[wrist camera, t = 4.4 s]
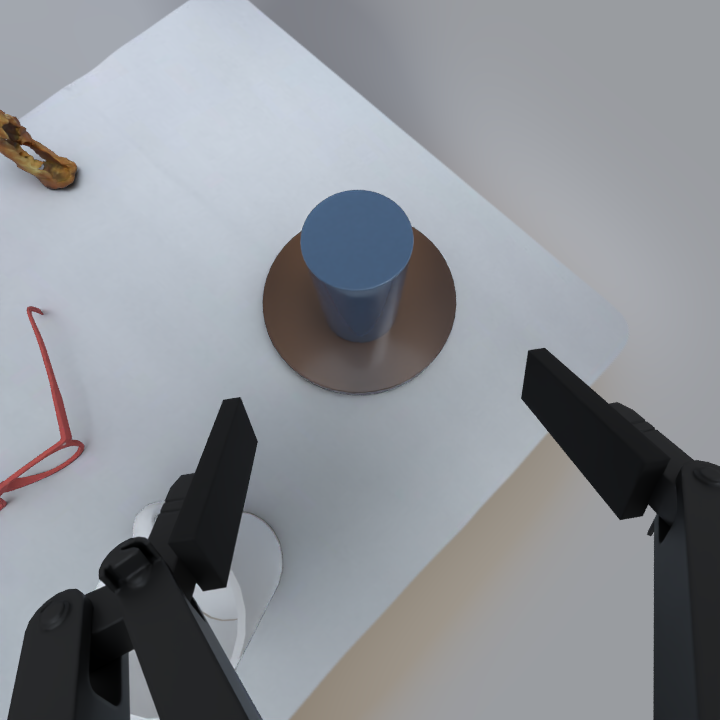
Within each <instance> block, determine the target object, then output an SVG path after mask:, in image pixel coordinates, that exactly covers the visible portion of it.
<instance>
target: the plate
mask: <svg viewBox="0 0 720 720" xmlns="http://www.w3.org/2000/svg"><path fill="white" fill-rule="evenodd" d="M412 230H413V236H414V244H413V250H412V255H411V259H410V264H409V268H408V272H407V277H406V281H405V285H404V290H403V294H402V298H401V303H400V307H399V311H398V315H397V319H396V321H395V323H394V325H393V326H392V328H391V329H390V330H389V331H388V332H387V333H386V334H385V335H383V336H382V337H380V338H378V339H376V340H373V341H370V342H363V343H357V342H351V341H347V340H345V339H343V338H341V337H339V336H337V335H336V334H335V333H334V332H333V331H332V330H331V329H330V328H329V326H328V325H327V323H326V321H325V318H324V316H323V313H322V310H321V307H320V304H319V301H318V298H317V295H316V293H315V290H314V287H313V284H312V281H311V278H310V275H309V273H308V270H307V267H306V264H305V261H304V258H303V255H302V251H301V244H300V239H301V232H302V231H301V232H300V233H298V234H297V235H296V236H295V237H293V238H292V239H291V240H290V241H289V242H288V243H287V244H286V245H285V246H284V248H283V249H282V250H281V252H280V253H279V254H278V256H277V257H276V259H275V261H274V263H273V264H272V266H271V268H270V271H269V273H268V276H267V279H266V283H265V287H264V294H263V314H264V320H265V325H266V328H267V331H268V334H269V337H270V339H271V341H272V343H273V345H274V347H275V348H276V350H277V351H278V353H279V354H280V356H281V357H282V358H283V359H284V360H285V361H286V362H287V364H288V365H289V366H290V367H291V368H292V369H293V370H295V371H296V372H297V373H298V374H299V375H300V376H302V377H303V378H305V379H306V380H308V381H309V382H311V383H313V384H315V385H317V386H319V387H321V388H324V389H327V390H330V391H333V392H337V393H343V394H349V395H367V394H376V393H380V392H385V391H388V390H391V389H394V388H396V387H399V386H401V385H403V384H405V383H407V382H409V381H411V380H412V379H413V378H415V377H416V376H418V375H419V374H420V373H422V372H423V371H424V370H425V369H426V368H427V367H428V366H429V365H430V364H431V363H432V361H433V360H434V359H435V358H436V356H437V355H438V354H439V353H440V351H441V350H442V348H443V346H444V345H445V343H446V341H447V339H448V337H449V334H450V332H451V330H452V326H453V322H454V318H455V311H456V292H455V286H454V281H453V278H452V275H451V272H450V269H449V267H448V265H447V263H446V261H445V259H444V258H443V256H442V254H441V253H440V251H439V250H438V249H437V248H436V246H435V245H434V244H433V243H432V242H431V241H430V240H429V239H428V238H427V237H426V236H425V235H423V234H422V233H421V232H419V231H418V230H417V229H415V228H414V227H412Z"/></svg>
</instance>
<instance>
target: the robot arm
mask: <svg viewBox="0 0 720 720" xmlns="http://www.w3.org/2000/svg"><path fill="white" fill-rule="evenodd" d="M521 399H522V400H523V401H524V402H525V404H526V405H527V406H528V407H529V409H530V410H531V411H532V412H533V413H534V415H535V416H536V417H537V418H538V420H539V421H540V422H541V423H542V425H543V426H544V427H545V428H546V429H547V431H548V432H549V433H550V434H551V436H552V437H553V438H554V439H555V441H556V442H557V443H558V444H559V445H560V447H561V448H562V449H563V450H564V452H565V453H566V454H567V455H568V457H569V458H570V459H571V460H572V461H573V463H574V464H575V465H576V466H577V468H578V469H579V470H580V471H581V473H582V474H583V475H584V476H585V477H586V479H587V480H588V481H589V482H590V484H591V485H592V486H593V487H594V489H595V490H596V491H597V492H598V493H599V495H600V496H601V497H602V498H603V500H604V501H605V502H606V503H607V504H608V506H609V507H610V508H611V509H612V511H613V512H614V513H615V514H616V516H617V517H618V518H619V519H620V520H623V519H629V518H634V517H640V516H643V514H644V512H645V509H646V508H647V506H648V504H649V505H650V506H651V508H652V509H653V510H654V511H655V512H656V513H657V515H656V517H655V519H654V521H653V523H652V524H651V526H650V528H649V531H648V534H647V535H649V536H651V535H652V534H653V532H654V720H720V466H717V465H715V464H712V463H709V462H704V461H699V460H695V461H694V460H693V459H692V458H691V457H689V456H688V455H687V454H686V453H685V452H683V451H682V450H681V449H680V448H678V447H677V446H676V445H675V444H674V443H672V442H671V441H670V440H669V439H667V438H666V437H665V436H664V435H662V434H661V433H660V432H659V431H658V430H655V428H654V427H653V426H652V425H651V424H649V423H648V422H645V419H643V418H642V417H641V416H640V415H639V414H637V413H636V412H635V411H634V410H632V409H630V408H628V407H626V406H624V405H622V404H620V403H618V402H616V403H611V404H608V403H607V402H606V401H605V400H604V399H603V398H601V397H600V396H599V395H598V394H597V393H596V392H594V391H593V390H592V389H591V388H590V387H589V386H588V385H587V384H585V383H584V382H583V381H582V380H581V379H580V378H579V377H578V376H576V375H575V374H574V373H573V372H572V371H571V370H570V369H568V368H567V367H566V366H565V365H564V364H563V363H562V362H560V361H559V360H558V359H557V358H556V357H555V356H554V355H552V354H551V353H550V352H549V351H548V350H547V349H546V348H541V349H534V350H528V356H527V362H526V369H525V376H524V383H523V390H522V396H521ZM257 443H258V441H257V439H256V436H255V433H254V431H253V428H252V426H251V423H250V421H249V418H248V415H247V413H246V410H245V408H244V405H243V403H242V400H241V397H238V398H232V399H226V400H223V402H222V405H221V407H220V410H219V412H218V415H217V417H216V420H215V423H214V425H213V428H212V430H211V433H210V435H209V438H208V441H207V443H206V446H205V448H204V451H203V453H202V456H201V459H200V461H199V464H198V466H197V469H196V471H195V473H192V474H186V475H181V476H180V477H179V478H178V480H177V481H176V482H175V483H174V484H173V485H172V487H171V488H170V490H169V492H168V495H167V497H166V499H165V503H164V504H163V506H162V508H161V510H160V514H159V515H158V517H157V519H156V522H155V524H154V526H153V528H152V531H151V533H150V535H149V537H148V539H147V538H146V537H134V538H130V539H128V540H126V541H124V542H122V543H121V544H119V545H118V546H117V547H115V548H114V549H113V550H112V551H111V552H110V553H109V554H108V555H107V557H106V558H105V559H104V560H103V562H102V564H101V567H100V569H99V579H100V580H101V581H102V582H103V583H104V584H105V586H103V587H101V588H99V589H97V590H94V591H92V592H90V593H88V594H86V595H84V594H83V593H82V592H81V591H79V590H78V589H68V590H65V591H63V592H60V593H58V594H56V595H55V596H53V597H52V598H50V599H49V600H47V601H46V602H45V603H44V604H43V605H42V606H41V607H40V608H39V609H38V610H37V611H36V613H35V614H34V616H33V617H32V618H31V620H30V621H29V624H28V626H27V629H26V631H25V635H24V640H23V645H22V650H21V655H20V660H19V665H18V670H17V675H16V680H15V684H14V689H13V694H12V699H11V704H10V709H9V714H8V719H7V720H130V688H129V652H130V651H132V650H135V652H136V655H137V658H138V661H139V664H140V666H141V669H142V672H143V675H144V677H145V680H146V683H147V686H148V688H149V691H150V694H151V697H152V699H153V702H154V705H155V708H156V711H157V713H158V716H159V719H160V720H262V718H261V716H260V714H259V713H258V711H257V709H256V707H255V705H254V704H253V702H252V700H251V698H250V696H249V695H248V693H247V691H246V689H245V688H244V686H243V684H242V682H241V680H240V679H239V677H238V675H237V673H236V672H235V670H234V668H233V666H232V664H231V663H230V661H229V659H228V657H227V655H226V654H225V652H224V650H223V648H222V647H221V645H220V643H219V641H218V639H217V638H216V636H215V634H214V632H213V630H212V629H211V627H210V625H209V623H208V622H207V620H206V618H205V616H204V614H203V613H202V611H201V609H200V607H199V606H198V604H197V602H196V600H195V599H194V597H193V593H194V589H195V586H196V583H197V584H198V586H199V587H200V588H201V590H202V591H209V590H215V589H221V588H226V587H227V582H228V577H229V573H230V568H231V563H232V559H233V554H234V550H235V545H236V540H237V536H238V531H239V526H240V522H241V517H242V512H243V508H244V503H245V498H246V494H247V489H248V484H249V480H250V475H251V471H252V466H253V461H254V457H255V452H256V447H257Z"/></svg>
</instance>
